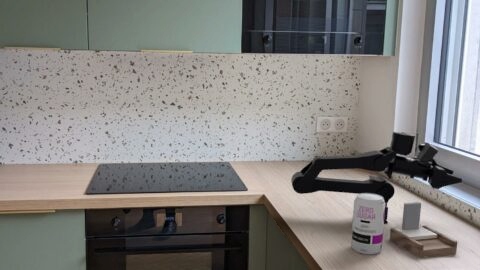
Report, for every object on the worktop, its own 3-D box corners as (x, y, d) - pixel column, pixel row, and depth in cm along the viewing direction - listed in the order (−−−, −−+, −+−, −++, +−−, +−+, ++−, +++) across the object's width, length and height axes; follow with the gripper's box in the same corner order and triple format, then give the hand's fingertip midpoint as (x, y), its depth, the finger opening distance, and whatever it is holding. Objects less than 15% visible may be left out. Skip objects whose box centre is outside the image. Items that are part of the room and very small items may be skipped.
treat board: (389, 240, 153) (390, 228, 153) (424, 236, 157) (425, 225, 157) (419, 257, 141) (420, 245, 140) (456, 253, 145) (457, 241, 144)
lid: (395, 232, 153) (397, 203, 152) (422, 230, 156) (424, 201, 155) (409, 240, 147) (411, 210, 146) (437, 237, 150) (440, 208, 149)
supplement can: (376, 244, 149) (380, 192, 147) (385, 255, 141) (389, 201, 139) (347, 243, 149) (351, 192, 147) (355, 255, 141) (359, 200, 139)
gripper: (420, 149, 157) (474, 159, 156) (407, 136, 175) (455, 145, 174) (411, 184, 159) (464, 194, 158) (399, 168, 178) (446, 177, 177)
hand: (457, 176), depth 167 cm, fingers open, 9 cm apart
